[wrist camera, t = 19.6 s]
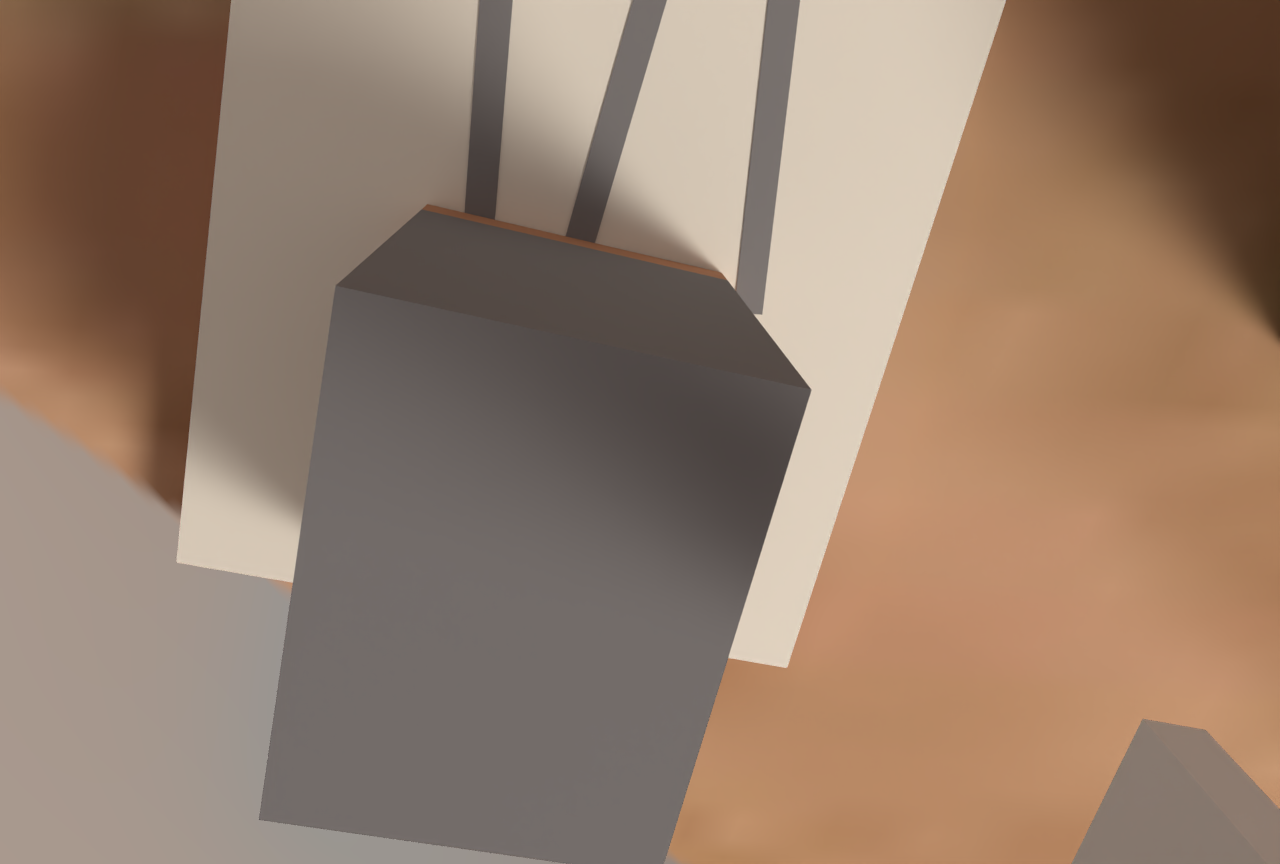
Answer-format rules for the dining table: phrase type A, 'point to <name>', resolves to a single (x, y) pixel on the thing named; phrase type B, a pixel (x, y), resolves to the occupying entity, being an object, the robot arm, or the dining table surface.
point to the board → (574, 207)
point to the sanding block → (523, 542)
